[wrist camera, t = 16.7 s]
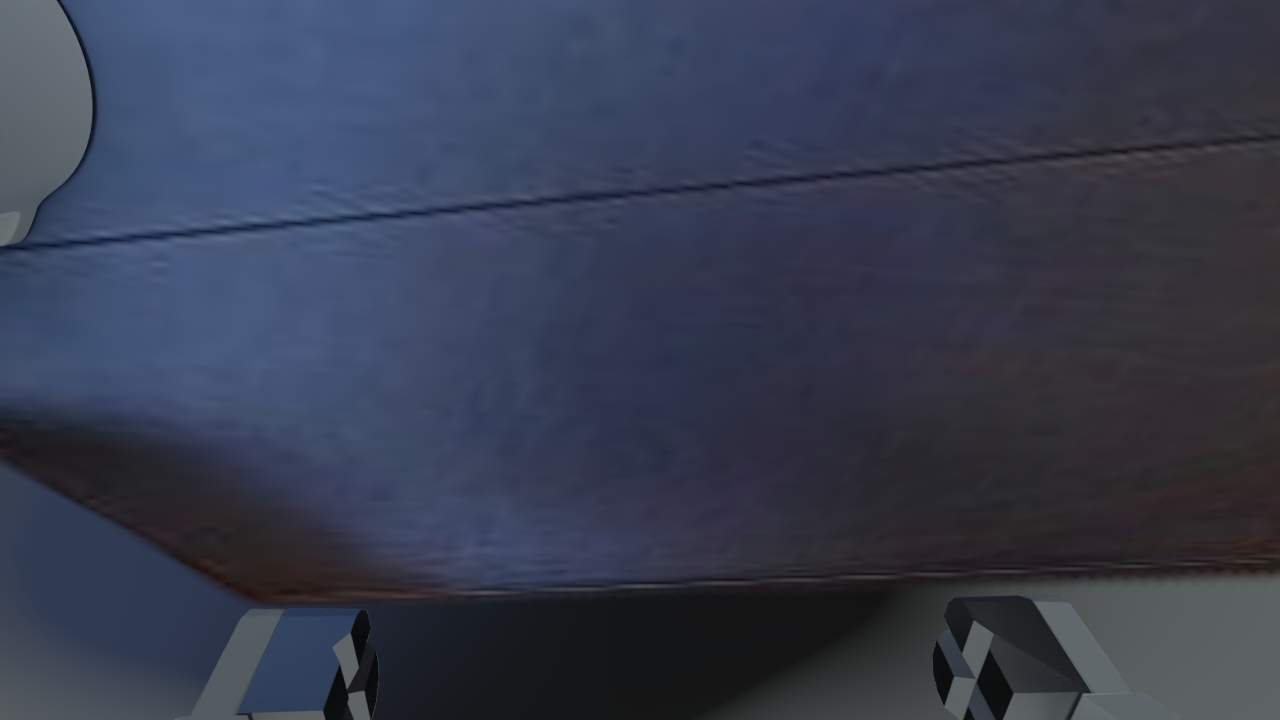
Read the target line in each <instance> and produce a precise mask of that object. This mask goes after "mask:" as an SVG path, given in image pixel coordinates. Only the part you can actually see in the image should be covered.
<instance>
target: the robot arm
mask: <svg viewBox="0 0 1280 720" xmlns="http://www.w3.org/2000/svg"><path fill="white" fill-rule="evenodd" d="M91 124H92V92H91V85H90V79H89V74H88V70H87V66H86V62H85V59H84V56H83V53H82V50H81V47H80V45H79V42H78V40H77V37H76V35H75V33H74V31H73V28H72V26H71V24H70V23H69V21H68V19H67V17H66V15H65V13H64V12H63V10H62V8H61V7H60V5H59V3H58V2H57V0H0V246H5V245H10V244H15V243H19V242H20V241H22V240H23V239H24V238H25V236H26V235H27V233H28V231H29V229H30V227H31V224H32V222H33V219H34V216H35V213H36V210H37V207H38V205H39V204H40V203H41V202H42V201H43V200H44V199H45V198H46V197H47V196H48V195H49V194H51V193H52V192H53V191H54V190H56V189H57V188H58V187H59V186H61V185H62V184H63V183H64V182H65V181H66V180H67V179H68V178H69V177H70V176H71V174H72V173H73V172H74V170H75V169H76V168H77V166H78V164H79V162H80V161H81V159H82V157H83V154H84V152H85V150H86V147H87V143H88V140H89V136H90V131H91ZM944 618H945V620H946V622H947V624H948V626H949V629H948V630H947V631H946V632H944V633H943V634H942V635H940V636H939V637H938V638H937V639H936V643H935V647H934V651H933V655H932V657H933V658H932V659H933V675H934V680H935V683H936V688H937V691H938V693H939V696H940V698H941V700H942V703H943V705H944V707H945V708H946V709H947V710H948V711H950V712H951V713H952V714H953V715H955V716H956V717H957V718H958V719H959V720H1184V719H1182V718H1181V717H1179V716H1178V715H1176V714H1175V713H1173V712H1172V711H1170V710H1169V709H1167V708H1166V707H1164V706H1163V705H1161V704H1160V703H1158V702H1157V701H1155V700H1154V699H1152V698H1151V697H1149V696H1148V695H1146V694H1145V693H1142V692H1132V691H1131V690H1130V688H1129V687H1128V686H1127V684H1126V683H1125V681H1124V680H1123V679H1122V677H1121V676H1120V674H1119V673H1118V671H1117V670H1116V668H1115V667H1114V666H1113V664H1112V663H1111V662H1110V660H1109V659H1108V657H1107V656H1106V654H1105V653H1104V651H1103V650H1102V649H1101V647H1100V646H1099V644H1098V643H1097V642H1096V640H1095V639H1094V637H1093V636H1092V634H1091V633H1090V632H1089V630H1088V629H1087V627H1086V626H1085V625H1084V623H1083V622H1082V620H1081V619H1080V618H1079V616H1078V615H1077V613H1076V612H1075V611H1074V609H1073V607H1072V606H1071V605H1070V603H1069V602H1068V601H1067V600H1066V599H1064V598H1063V597H1061V596H1060V595H1034V596H1033V595H1032V596H991V597H990V596H986V597H958V598H957V597H954V598H953V599H952V600H951V601H950V602H949V603H948V605H947V608H946V611H945V614H944ZM370 630H371V624H370V621H369V617H368V613H367V610H363V609H250V610H249V611H248V612H247V613H246V614H245V615H244V616H243V617H242V618H241V619H240V621H239V623H238V624H237V626H236V628H235V630H234V632H233V634H232V636H231V638H230V640H229V642H228V644H227V646H226V648H225V650H224V652H223V653H222V655H221V657H220V659H219V661H218V663H217V665H216V667H215V669H214V671H213V673H212V675H211V677H210V679H209V681H208V683H207V684H206V686H205V688H204V690H203V693H202V694H201V696H200V698H199V700H198V702H197V704H196V706H195V708H194V710H193V711H192V714H191V715H190V716H186V717H177V718H176V719H175V720H371V719H372V716H373V712H374V708H375V705H376V699H377V691H378V683H379V665H378V659H377V653H376V650H375V649H374V648H372V647H371V646H370V645H369V644H368V643H367V640H368V636H369V633H370Z"/></svg>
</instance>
